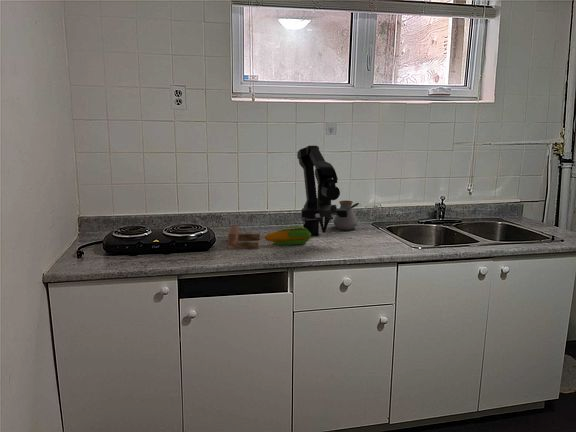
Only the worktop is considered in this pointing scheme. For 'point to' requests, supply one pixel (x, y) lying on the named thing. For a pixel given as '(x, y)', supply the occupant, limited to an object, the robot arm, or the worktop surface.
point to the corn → (289, 236)
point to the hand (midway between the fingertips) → (323, 232)
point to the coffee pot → (348, 221)
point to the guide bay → (236, 236)
